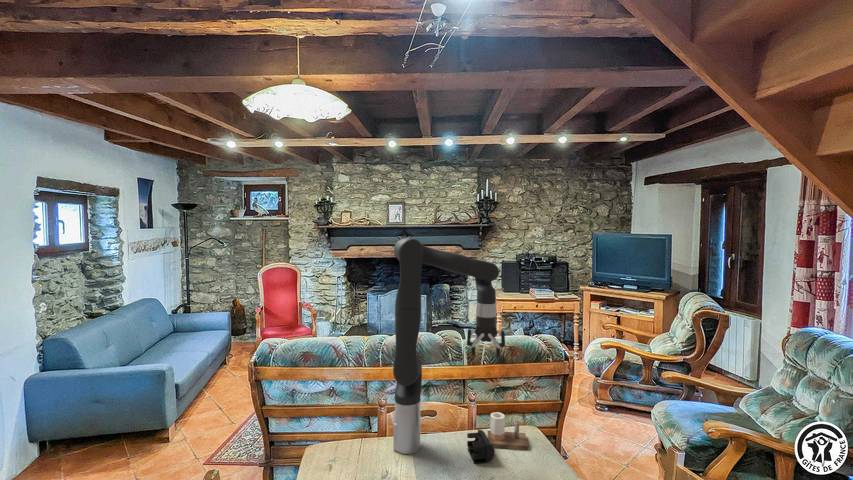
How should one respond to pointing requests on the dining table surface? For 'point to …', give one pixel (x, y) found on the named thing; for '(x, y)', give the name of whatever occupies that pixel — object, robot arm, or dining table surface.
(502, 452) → the dining table surface
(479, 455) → the end cap
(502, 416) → the sleeve
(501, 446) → the pin board
